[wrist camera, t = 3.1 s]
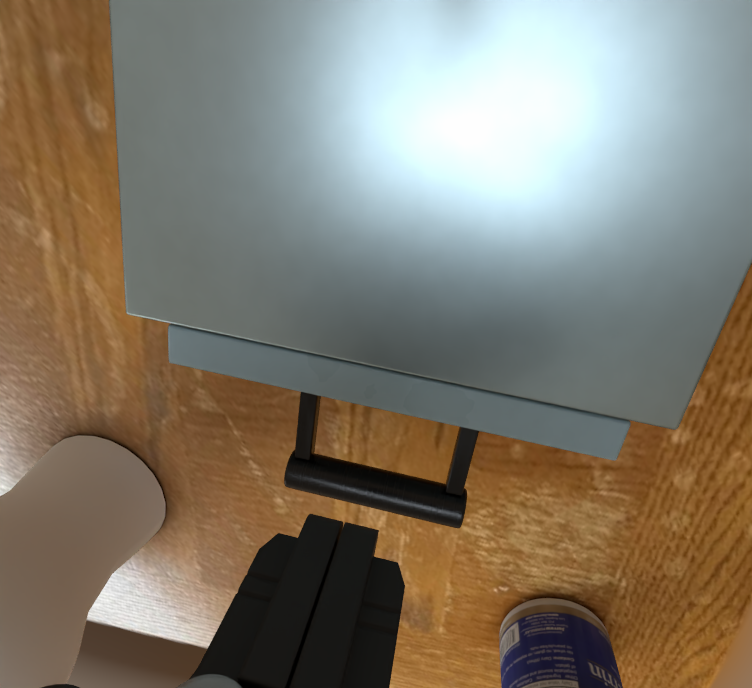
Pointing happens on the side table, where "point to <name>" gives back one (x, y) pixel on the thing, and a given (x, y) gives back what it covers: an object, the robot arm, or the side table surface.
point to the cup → (67, 550)
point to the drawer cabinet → (445, 185)
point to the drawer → (399, 396)
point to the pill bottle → (556, 647)
